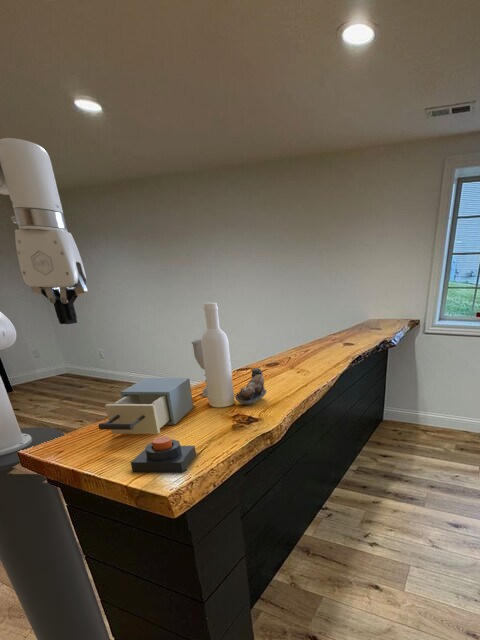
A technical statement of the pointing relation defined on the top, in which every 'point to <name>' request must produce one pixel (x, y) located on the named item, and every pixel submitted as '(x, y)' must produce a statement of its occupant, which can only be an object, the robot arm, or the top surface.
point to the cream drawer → (137, 414)
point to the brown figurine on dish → (252, 389)
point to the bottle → (216, 360)
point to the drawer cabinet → (172, 387)
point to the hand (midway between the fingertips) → (68, 323)
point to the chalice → (199, 359)
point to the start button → (162, 443)
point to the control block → (164, 458)
